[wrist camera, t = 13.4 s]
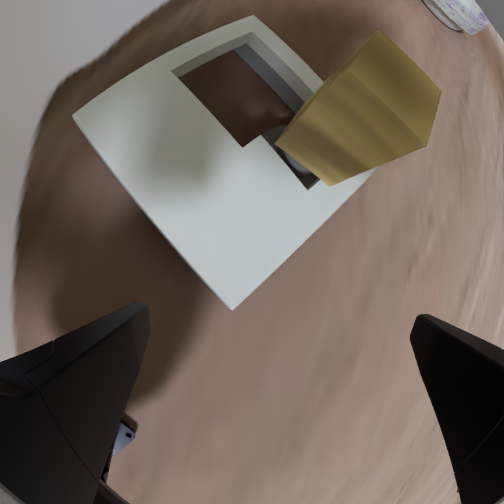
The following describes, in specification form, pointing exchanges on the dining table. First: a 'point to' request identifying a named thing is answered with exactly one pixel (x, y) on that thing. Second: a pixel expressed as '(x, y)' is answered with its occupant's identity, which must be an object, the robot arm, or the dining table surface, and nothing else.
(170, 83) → the white stepped cutout frame
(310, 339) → the dining table surface
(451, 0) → the paper bowls
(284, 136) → the peg
